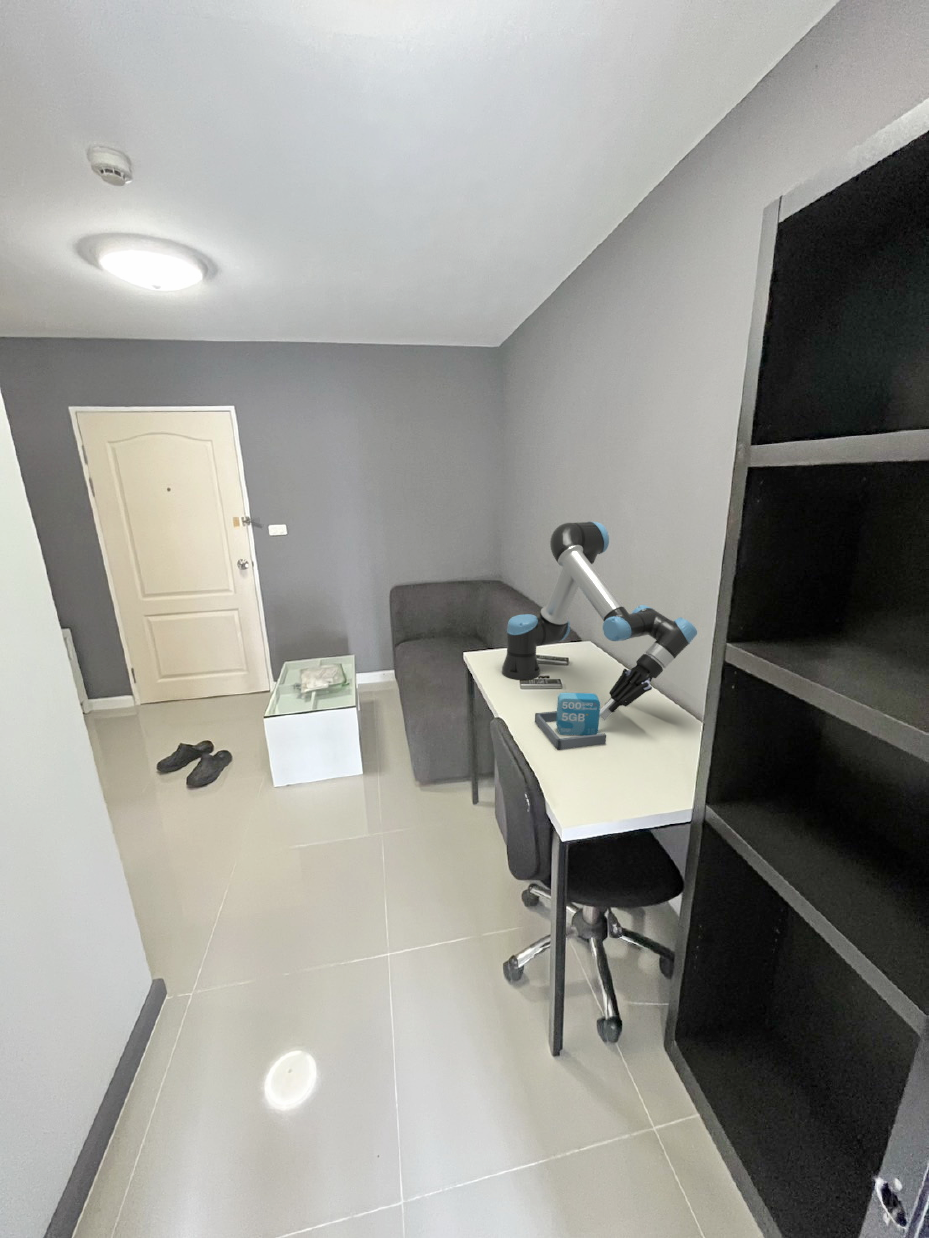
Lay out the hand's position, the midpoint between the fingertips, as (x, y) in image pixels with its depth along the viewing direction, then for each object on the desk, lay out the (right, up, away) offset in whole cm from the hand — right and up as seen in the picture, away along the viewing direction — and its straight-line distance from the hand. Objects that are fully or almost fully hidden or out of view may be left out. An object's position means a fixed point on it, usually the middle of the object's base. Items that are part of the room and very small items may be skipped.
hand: (600, 716), depth 149 cm
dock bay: (-9, -5, 0) cm, 11 cm away
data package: (-7, -5, 0) cm, 9 cm away
